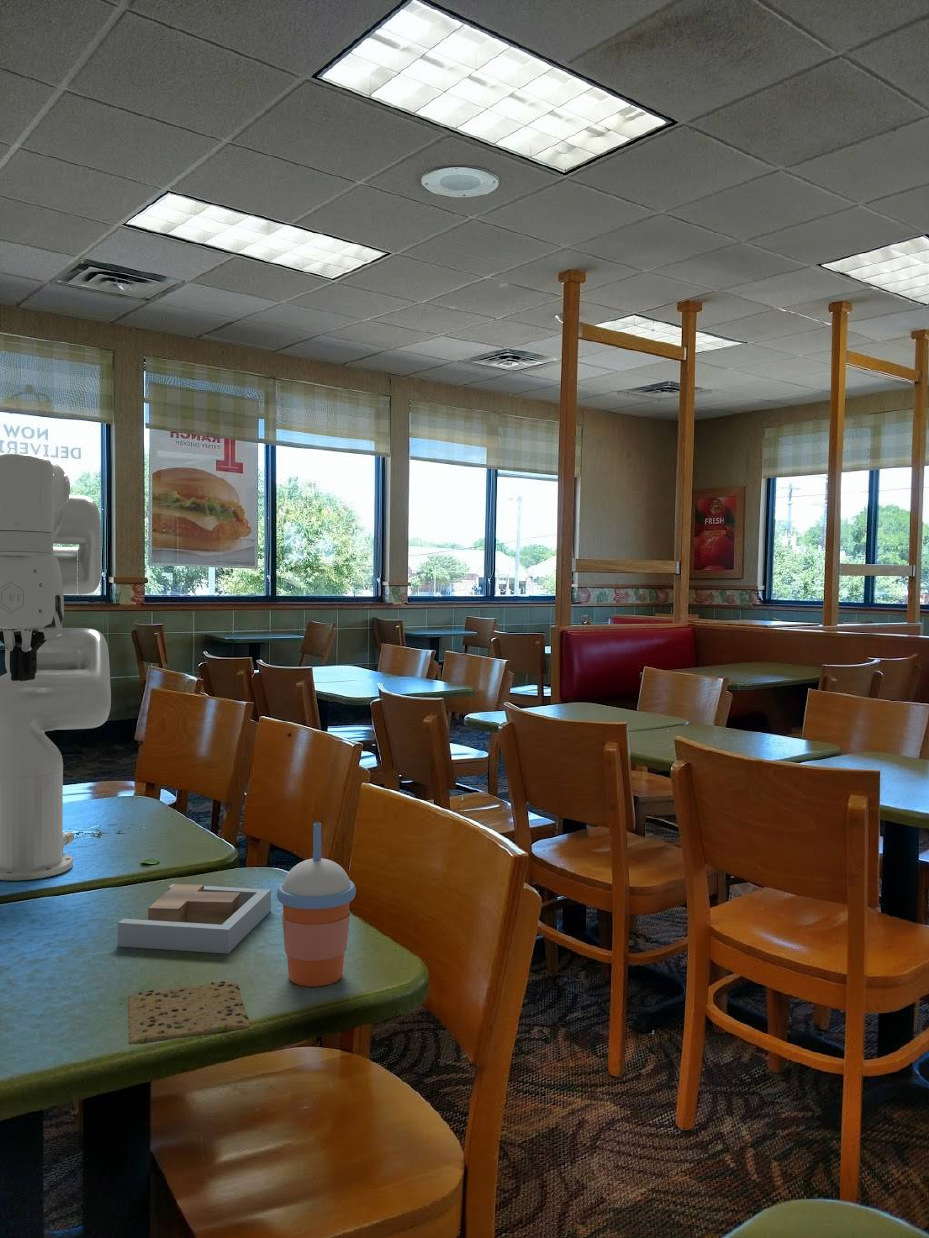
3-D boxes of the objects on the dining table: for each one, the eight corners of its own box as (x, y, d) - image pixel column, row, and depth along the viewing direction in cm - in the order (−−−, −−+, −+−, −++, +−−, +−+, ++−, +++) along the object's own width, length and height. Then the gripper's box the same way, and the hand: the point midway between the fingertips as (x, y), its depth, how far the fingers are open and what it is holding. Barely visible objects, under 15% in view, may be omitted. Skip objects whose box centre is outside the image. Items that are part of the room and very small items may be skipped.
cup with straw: (349, 993, 107) (350, 834, 106) (268, 992, 107) (269, 832, 106) (359, 962, 116) (361, 815, 115) (284, 960, 116) (286, 813, 116)
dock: (172, 904, 136) (172, 883, 136) (270, 910, 134) (271, 889, 134) (117, 946, 120) (117, 922, 120) (228, 953, 118) (228, 929, 118)
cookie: (125, 999, 106) (125, 990, 105) (237, 985, 110) (237, 977, 110) (126, 1049, 94) (126, 1039, 94) (251, 1032, 98) (251, 1022, 98)
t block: (175, 912, 133) (175, 884, 133) (246, 914, 132) (246, 885, 132) (148, 938, 123) (148, 908, 123) (225, 940, 122) (224, 909, 122)
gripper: (-46, 544, 128) (-46, 681, 128) (59, 545, 126) (59, 684, 126) (-11, 546, 135) (-11, 676, 136) (89, 548, 133) (88, 679, 134)
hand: (23, 679), depth 131 cm, fingers closed
